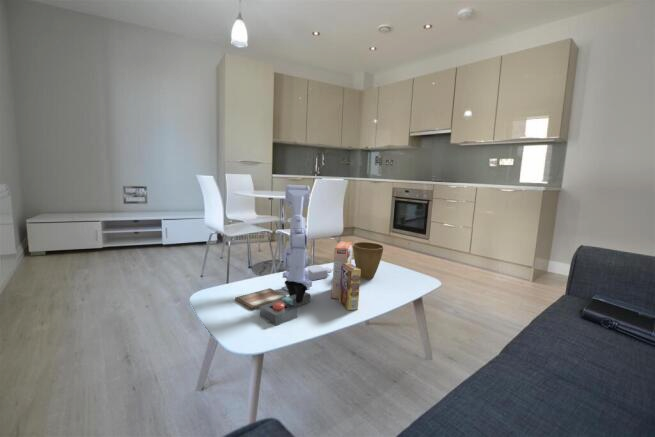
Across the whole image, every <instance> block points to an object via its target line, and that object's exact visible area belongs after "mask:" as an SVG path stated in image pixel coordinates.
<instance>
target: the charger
mask: <svg viewBox="0 0 655 437" xmlns="http://www.w3.org/2000/svg"><path fill="white" fill-rule="evenodd" d="M306 268H307V269H308V271H309V280H310V281H312V282H313V281H318V280H322V279H323V280H324V279H327V278H328V274H330V273H333V269H332V268H330V267H325V266H323V265H319V264H314V265H307V267H306Z"/></svg>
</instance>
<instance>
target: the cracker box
mask: <svg viewBox="0 0 655 437" xmlns="http://www.w3.org/2000/svg"><path fill="white" fill-rule="evenodd" d="M353 244H354V243H353V242H352V241H342V240H340V241H339V242H338V243H337V244H336V246H334V251H333V270H332V285H331V298H332V299H335V300H339V296H340V280H341V265H342V264H345V263H350V264H352V260H353V259H352V258H353V256H352V254H353Z"/></svg>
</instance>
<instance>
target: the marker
mask: <svg viewBox="0 0 655 437" xmlns="http://www.w3.org/2000/svg"><path fill="white" fill-rule="evenodd" d="M282 300H283V301H285V302H287V303H289V304H291V305H293V306H295V307H297V308H298V307H300V306H301V305H305V304H307V303H310V302H311V293H308V292H307V291H305V294H304V296H303V300H302V302H300V303H297V302H296V294H295V295H292V296H289V295H288V296H287V297H285V298H282Z"/></svg>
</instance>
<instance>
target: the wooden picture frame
mask: <svg viewBox="0 0 655 437" xmlns="http://www.w3.org/2000/svg"><path fill="white" fill-rule="evenodd" d="M285 297H288V296H287V295H285V294H283V293H280V292H279V291H277V290H275V289H272V288H271V287H270V288H266V289H263V290H259V291H255V292H251V293H247V294H243V295H239V296H236V297H234V301H236V302H237V301H238V303H239V304H241V305H242V306H244V307H245V308H248V309H249V310H251V311H254V310H257V309H260V306H263V305H266V304H269V303H272V302H276V301H279V300H282V298H285Z"/></svg>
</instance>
